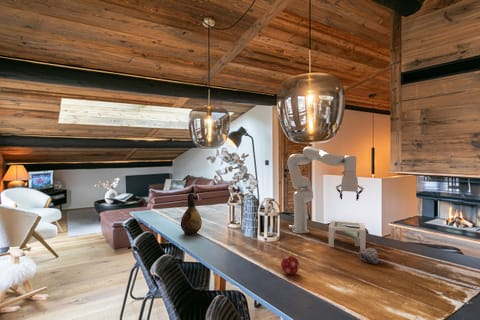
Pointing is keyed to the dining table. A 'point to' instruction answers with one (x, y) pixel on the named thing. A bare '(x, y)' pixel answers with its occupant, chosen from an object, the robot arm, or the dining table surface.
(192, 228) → the ceramic jug
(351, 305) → the dining table surface
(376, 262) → the pumice stone
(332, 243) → the frame
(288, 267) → the christmas ornament
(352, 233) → the trapdoor
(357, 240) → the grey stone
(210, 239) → the dining table surface
